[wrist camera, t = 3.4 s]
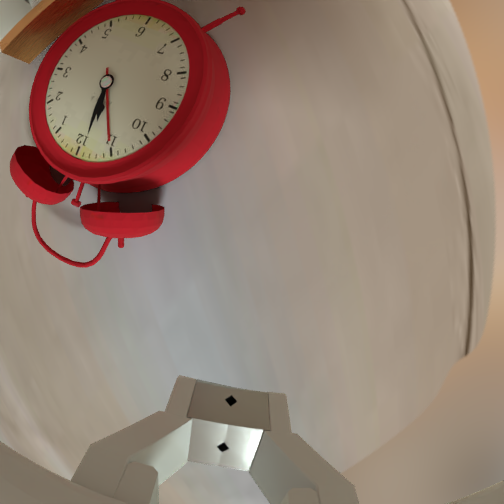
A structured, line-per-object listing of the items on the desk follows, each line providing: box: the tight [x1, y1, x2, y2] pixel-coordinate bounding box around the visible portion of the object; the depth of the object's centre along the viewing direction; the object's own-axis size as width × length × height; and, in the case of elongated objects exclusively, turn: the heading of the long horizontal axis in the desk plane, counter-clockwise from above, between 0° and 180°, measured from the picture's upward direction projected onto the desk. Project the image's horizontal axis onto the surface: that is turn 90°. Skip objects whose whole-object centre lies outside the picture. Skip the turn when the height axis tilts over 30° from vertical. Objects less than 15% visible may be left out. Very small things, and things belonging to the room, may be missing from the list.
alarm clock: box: [10, 0, 246, 267], centre depth 12 cm, size 10×6×15 cm
